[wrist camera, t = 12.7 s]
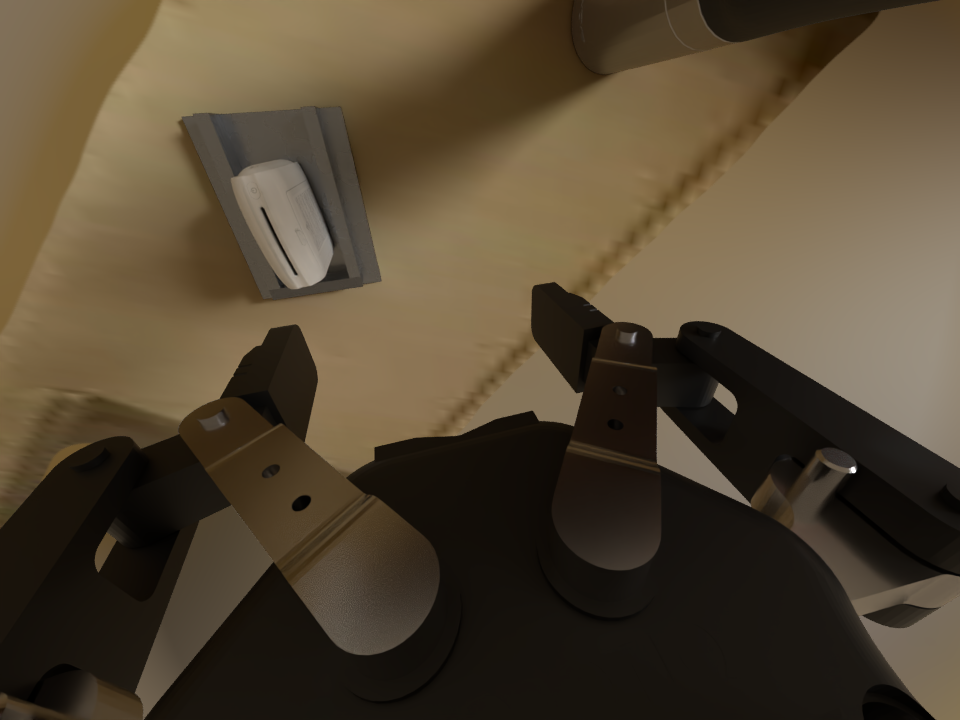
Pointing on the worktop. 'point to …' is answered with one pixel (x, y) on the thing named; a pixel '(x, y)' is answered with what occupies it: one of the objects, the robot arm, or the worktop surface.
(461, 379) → the worktop surface
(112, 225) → the worktop surface
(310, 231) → the photo printer
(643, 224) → the worktop surface
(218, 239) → the worktop surface
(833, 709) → the robot arm
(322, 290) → the bracket
